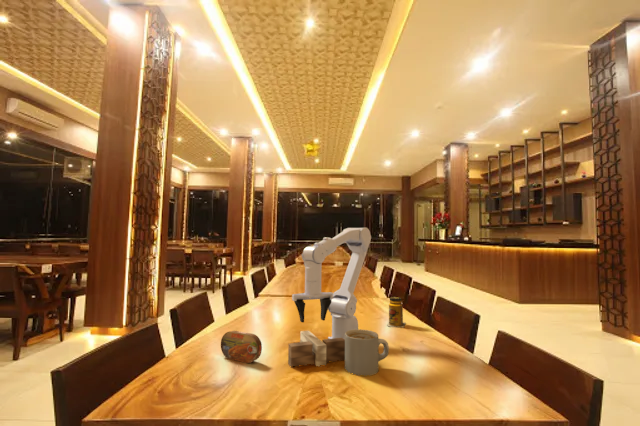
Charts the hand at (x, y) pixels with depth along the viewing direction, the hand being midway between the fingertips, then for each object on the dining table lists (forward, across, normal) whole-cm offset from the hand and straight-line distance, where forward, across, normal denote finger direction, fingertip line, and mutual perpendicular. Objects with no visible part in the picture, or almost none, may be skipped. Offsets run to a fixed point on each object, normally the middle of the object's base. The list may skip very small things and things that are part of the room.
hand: (312, 320), depth 112 cm
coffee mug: (+10, +10, -20) cm, 25 cm away
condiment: (+10, +47, +18) cm, 51 cm away
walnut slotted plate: (+10, -2, -10) cm, 14 cm away
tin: (+10, -24, 0) cm, 26 cm away
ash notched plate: (+10, -2, -6) cm, 12 cm away
